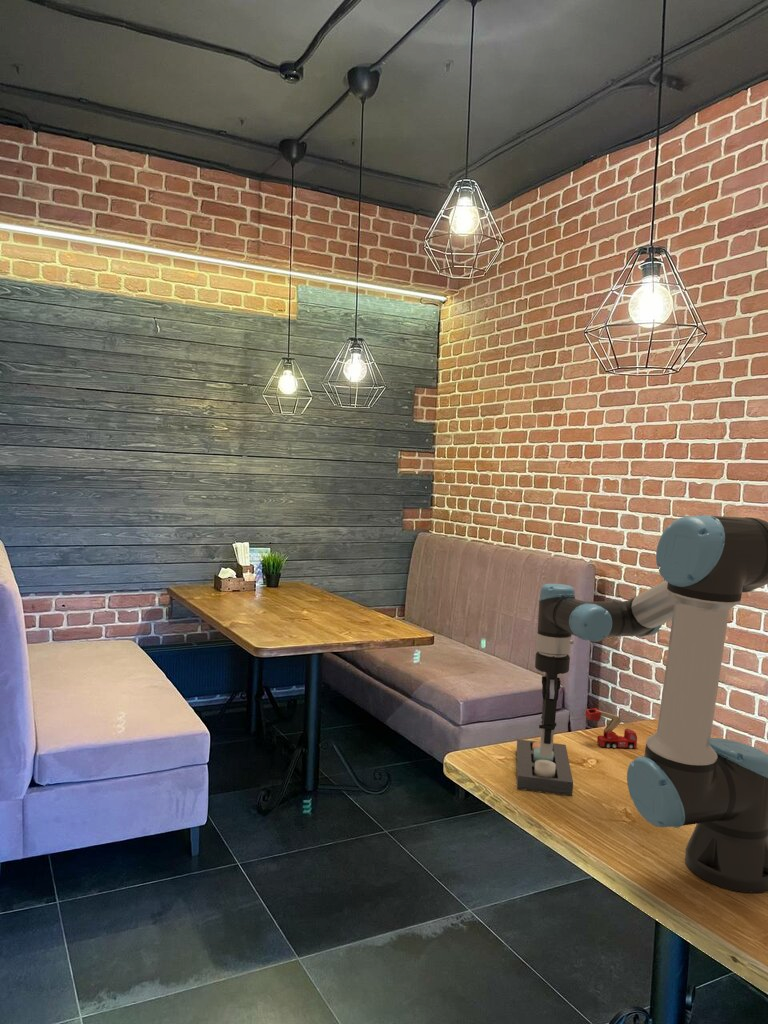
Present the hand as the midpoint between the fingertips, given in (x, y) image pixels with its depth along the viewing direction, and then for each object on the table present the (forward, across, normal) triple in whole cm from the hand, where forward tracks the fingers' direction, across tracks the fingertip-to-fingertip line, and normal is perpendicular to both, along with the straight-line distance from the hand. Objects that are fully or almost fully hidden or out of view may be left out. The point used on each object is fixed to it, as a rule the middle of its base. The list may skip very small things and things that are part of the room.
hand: (545, 755), depth 171 cm
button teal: (+5, +8, 0) cm, 9 cm away
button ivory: (+5, 0, 0) cm, 5 cm away
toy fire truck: (+7, +31, -19) cm, 37 cm away
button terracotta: (+6, +16, 0) cm, 17 cm away
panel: (+7, +8, 0) cm, 10 cm away
